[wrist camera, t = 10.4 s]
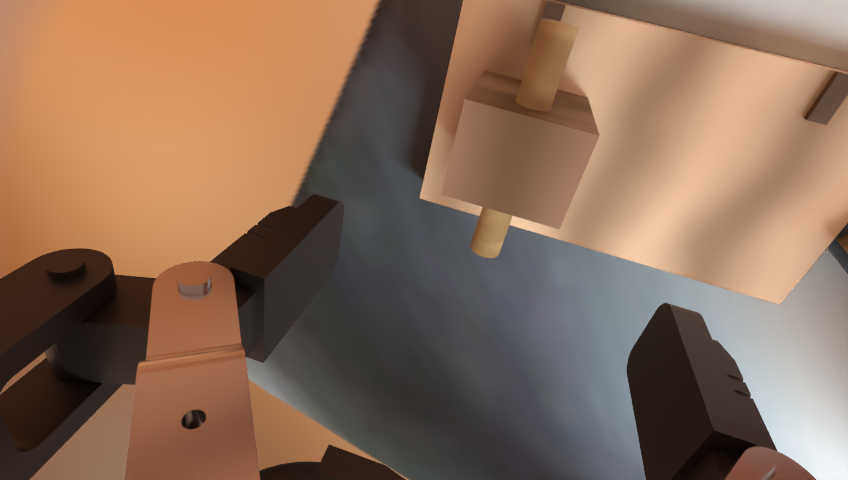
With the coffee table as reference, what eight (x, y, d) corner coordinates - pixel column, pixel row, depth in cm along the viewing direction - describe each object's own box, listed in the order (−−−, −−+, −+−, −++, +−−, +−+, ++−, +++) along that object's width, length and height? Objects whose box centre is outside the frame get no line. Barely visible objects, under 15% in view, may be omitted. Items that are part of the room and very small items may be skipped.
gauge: (615, 28, 20) (637, 47, 15) (537, 223, 25) (535, 286, 20) (502, 0, 20) (486, 9, 15) (450, 197, 25) (426, 253, 20)
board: (915, 88, 20) (955, 100, 18) (764, 283, 26) (782, 308, 24) (473, -20, 22) (466, -20, 20) (427, 184, 28) (418, 200, 26)
